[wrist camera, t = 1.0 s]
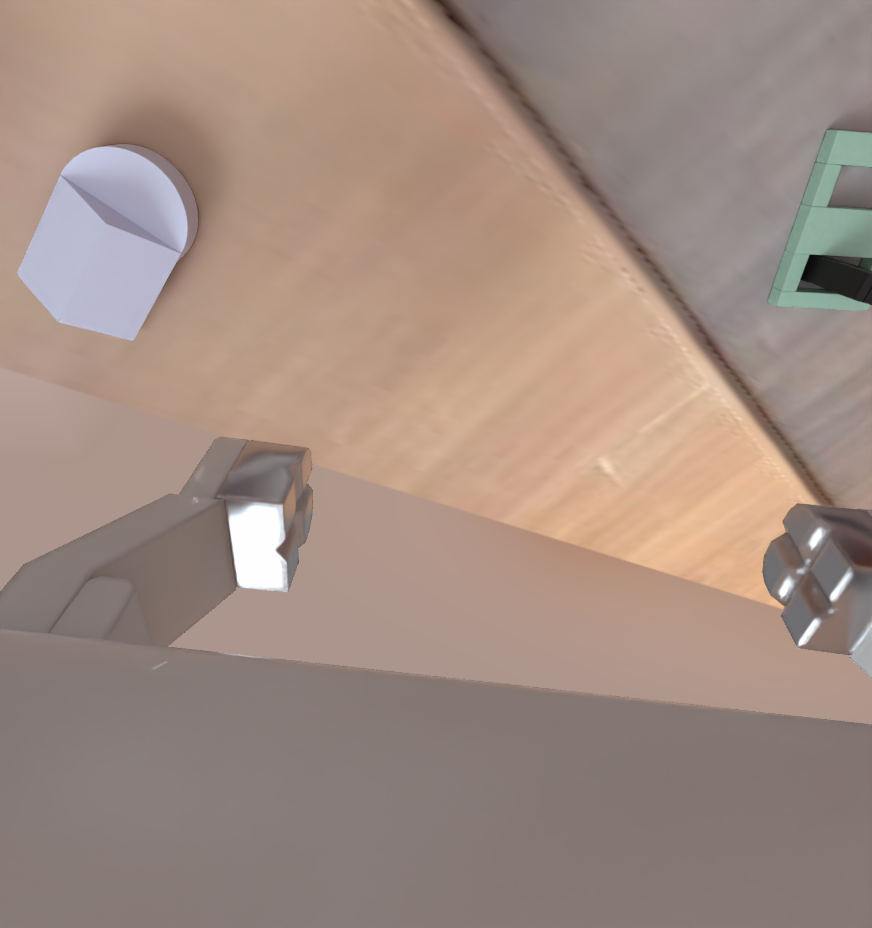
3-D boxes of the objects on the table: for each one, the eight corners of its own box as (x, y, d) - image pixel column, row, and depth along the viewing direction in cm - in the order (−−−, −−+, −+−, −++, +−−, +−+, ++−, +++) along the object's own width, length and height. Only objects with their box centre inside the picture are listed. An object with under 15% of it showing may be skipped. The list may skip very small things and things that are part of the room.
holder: (826, 129, 49) (838, 129, 48) (927, 137, 50) (941, 138, 49) (766, 301, 56) (776, 306, 55) (856, 306, 57) (867, 311, 56)
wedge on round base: (146, 328, 52) (219, 196, 48) (118, 356, 47) (198, 209, 42) (37, 264, 49) (104, 115, 44) (-7, 285, 43) (64, 117, 39)
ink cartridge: (794, 277, 55) (854, 302, 49) (808, 251, 54) (871, 273, 48) (840, 289, 56) (905, 315, 50) (854, 264, 55) (922, 287, 49)
